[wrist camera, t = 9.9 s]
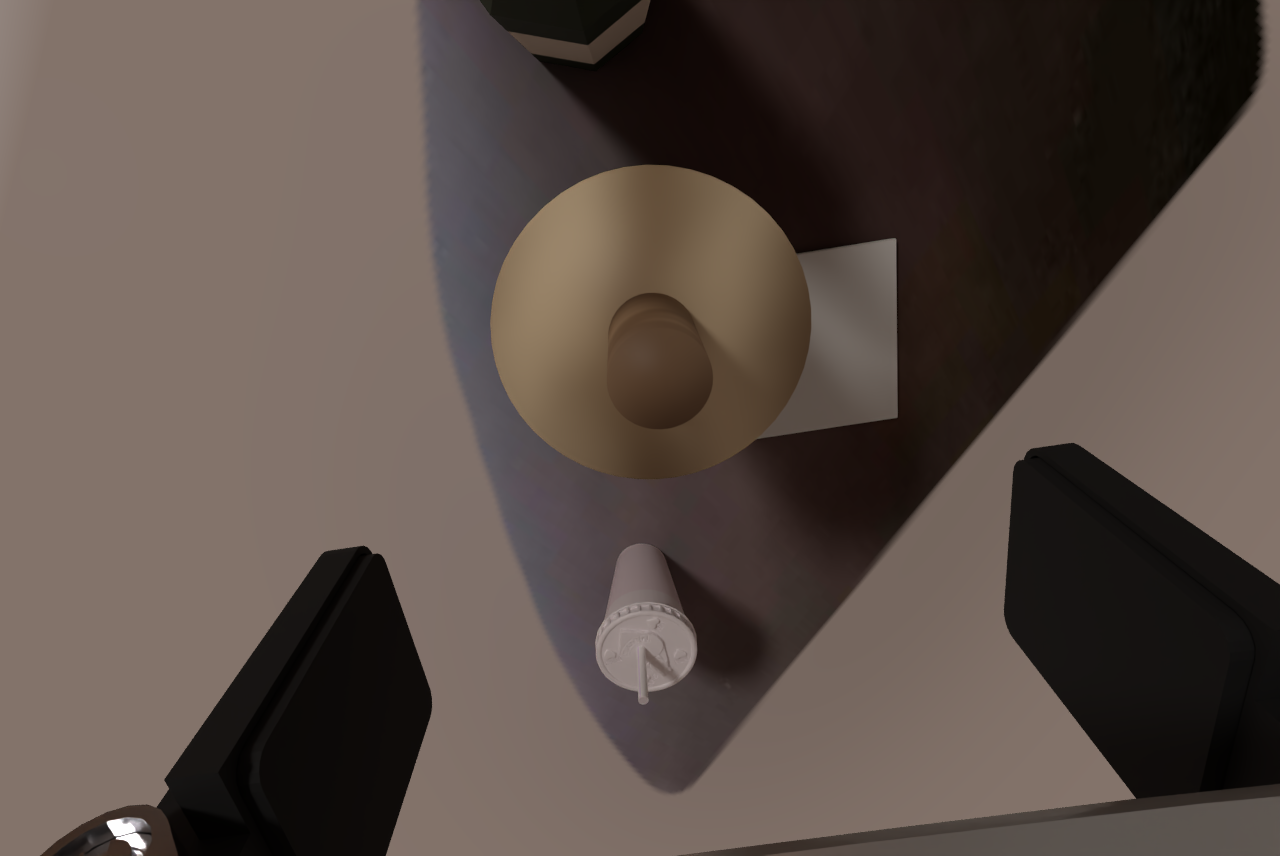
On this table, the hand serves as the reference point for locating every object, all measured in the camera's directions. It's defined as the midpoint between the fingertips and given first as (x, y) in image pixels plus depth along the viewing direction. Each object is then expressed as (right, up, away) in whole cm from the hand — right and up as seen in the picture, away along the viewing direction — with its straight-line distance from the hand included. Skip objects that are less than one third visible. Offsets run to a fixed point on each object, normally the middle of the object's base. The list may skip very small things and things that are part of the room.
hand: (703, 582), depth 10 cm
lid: (-1, +6, +14) cm, 16 cm away
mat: (+10, +8, +36) cm, 38 cm away
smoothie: (-1, -8, +42) cm, 43 cm away
